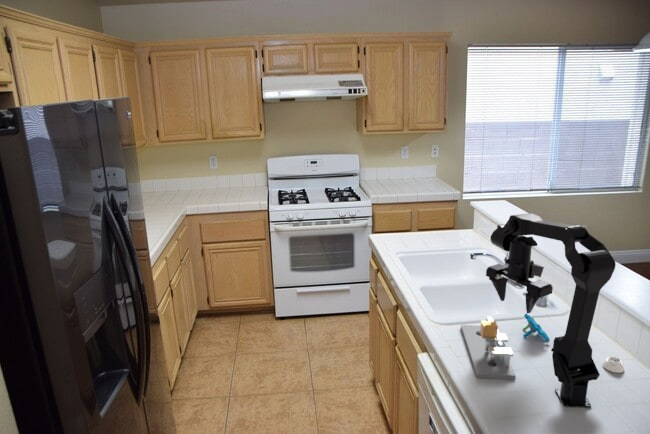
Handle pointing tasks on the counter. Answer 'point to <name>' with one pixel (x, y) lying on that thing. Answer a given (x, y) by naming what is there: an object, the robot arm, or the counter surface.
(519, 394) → the counter surface
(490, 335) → the sliding leg
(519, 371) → the counter surface
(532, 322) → the gear
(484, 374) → the bolt plate
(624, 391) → the counter surface
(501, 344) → the divider frame
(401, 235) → the counter surface
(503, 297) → the robot arm
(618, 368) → the white jar
